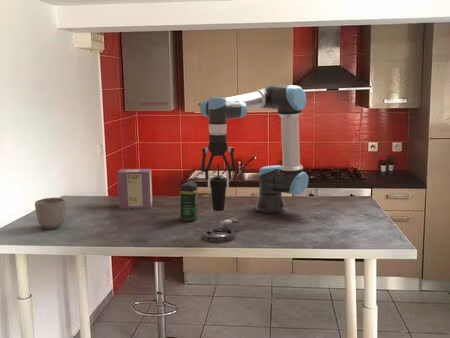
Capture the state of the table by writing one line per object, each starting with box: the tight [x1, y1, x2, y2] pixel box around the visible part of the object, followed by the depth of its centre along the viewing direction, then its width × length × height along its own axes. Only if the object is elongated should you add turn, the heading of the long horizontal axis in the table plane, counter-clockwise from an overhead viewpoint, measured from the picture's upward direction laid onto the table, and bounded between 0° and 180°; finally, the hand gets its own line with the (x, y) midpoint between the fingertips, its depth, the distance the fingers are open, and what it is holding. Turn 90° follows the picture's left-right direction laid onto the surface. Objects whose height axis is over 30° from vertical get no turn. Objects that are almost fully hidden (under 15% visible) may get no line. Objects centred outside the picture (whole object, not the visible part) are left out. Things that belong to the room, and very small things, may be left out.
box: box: [117, 168, 153, 210], centre depth 284 cm, size 17×9×20 cm, turn 92°
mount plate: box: [202, 227, 237, 243], centre depth 230 cm, size 14×14×2 cm
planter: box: [34, 197, 67, 231], centre depth 247 cm, size 14×14×13 cm
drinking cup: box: [210, 163, 227, 212], centre depth 226 cm, size 8×8×20 cm
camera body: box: [218, 216, 241, 232], centre depth 241 cm, size 8×6×5 cm
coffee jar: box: [179, 181, 199, 222], centre depth 258 cm, size 10×8×19 cm
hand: (218, 186), depth 226 cm, fingers closed on drinking cup, 7 cm apart
